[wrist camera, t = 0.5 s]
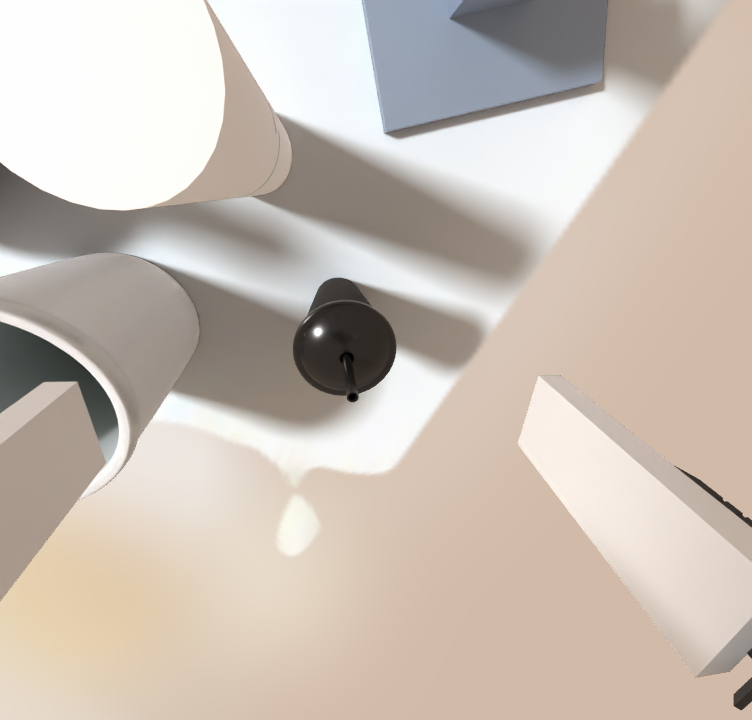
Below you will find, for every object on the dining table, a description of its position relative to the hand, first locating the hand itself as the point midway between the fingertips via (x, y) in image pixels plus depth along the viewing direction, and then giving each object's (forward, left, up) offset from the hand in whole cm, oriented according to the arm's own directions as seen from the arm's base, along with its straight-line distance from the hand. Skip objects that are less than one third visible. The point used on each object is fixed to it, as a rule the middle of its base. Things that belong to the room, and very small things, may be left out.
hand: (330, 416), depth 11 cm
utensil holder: (+2, -21, -29) cm, 35 cm away
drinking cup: (+5, 0, -29) cm, 29 cm away
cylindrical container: (-10, -4, -29) cm, 31 cm away
